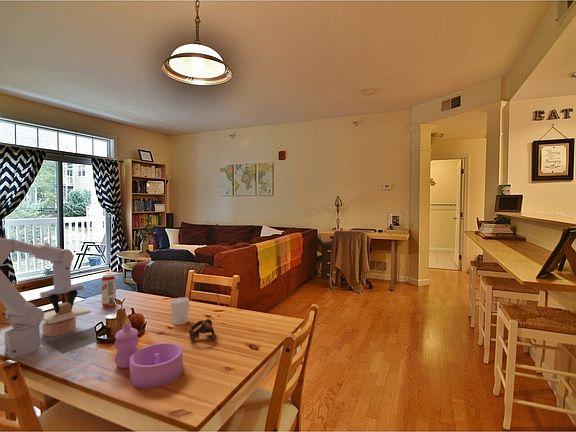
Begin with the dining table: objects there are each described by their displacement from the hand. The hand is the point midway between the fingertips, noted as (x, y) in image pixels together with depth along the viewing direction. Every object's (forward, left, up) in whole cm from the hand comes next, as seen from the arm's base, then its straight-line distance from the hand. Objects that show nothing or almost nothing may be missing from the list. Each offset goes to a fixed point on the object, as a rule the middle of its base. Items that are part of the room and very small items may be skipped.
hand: (63, 310), depth 126 cm
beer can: (+26, +19, -10) cm, 34 cm away
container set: (+4, -55, -10) cm, 56 cm away
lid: (0, 0, -2) cm, 2 cm away
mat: (+1, -13, -9) cm, 16 cm away
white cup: (+34, -30, -10) cm, 46 cm away
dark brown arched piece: (+30, -52, -10) cm, 60 cm away
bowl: (-1, +3, -9) cm, 10 cm away
